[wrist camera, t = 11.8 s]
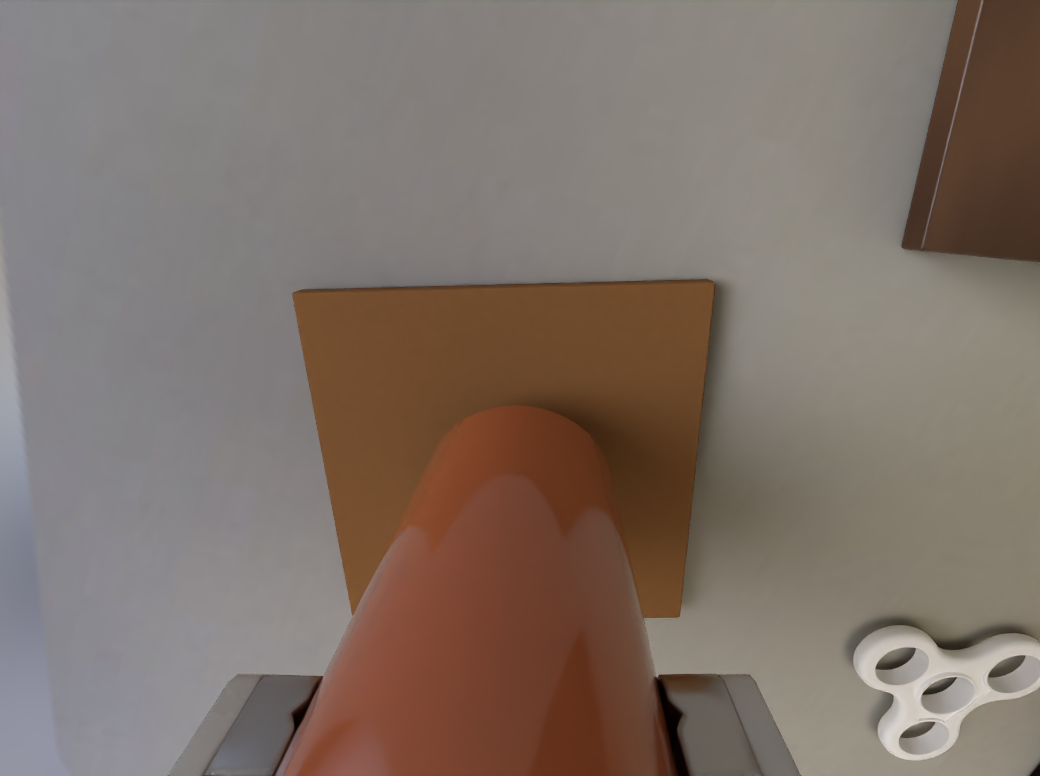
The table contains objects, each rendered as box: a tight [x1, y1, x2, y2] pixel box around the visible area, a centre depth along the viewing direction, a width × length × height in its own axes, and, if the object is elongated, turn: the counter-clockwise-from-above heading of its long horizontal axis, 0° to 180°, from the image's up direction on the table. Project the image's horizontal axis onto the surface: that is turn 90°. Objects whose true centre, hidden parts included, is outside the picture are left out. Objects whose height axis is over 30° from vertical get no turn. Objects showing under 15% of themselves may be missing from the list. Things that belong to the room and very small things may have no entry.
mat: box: [292, 279, 715, 618], centre depth 16 cm, size 12×12×1 cm
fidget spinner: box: [853, 625, 1040, 760], centre depth 19 cm, size 7×6×1 cm
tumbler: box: [275, 405, 678, 776], centre depth 9 cm, size 6×6×11 cm
